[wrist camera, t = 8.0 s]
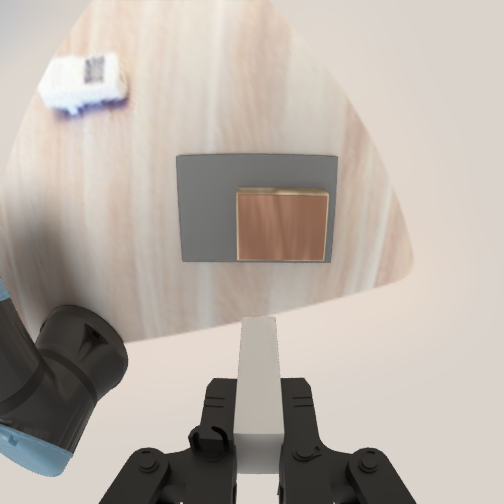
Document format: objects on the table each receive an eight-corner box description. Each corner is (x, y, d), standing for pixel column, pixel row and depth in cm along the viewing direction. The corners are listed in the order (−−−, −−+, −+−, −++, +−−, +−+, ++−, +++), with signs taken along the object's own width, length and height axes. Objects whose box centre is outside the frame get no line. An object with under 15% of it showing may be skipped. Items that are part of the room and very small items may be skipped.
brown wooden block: (237, 261, 32) (324, 261, 32) (235, 193, 30) (329, 194, 30) (238, 249, 36) (319, 250, 35) (238, 187, 33) (323, 188, 33)
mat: (183, 259, 37) (182, 261, 36) (177, 155, 32) (176, 156, 32) (329, 260, 36) (330, 262, 36) (336, 156, 32) (337, 157, 31)
